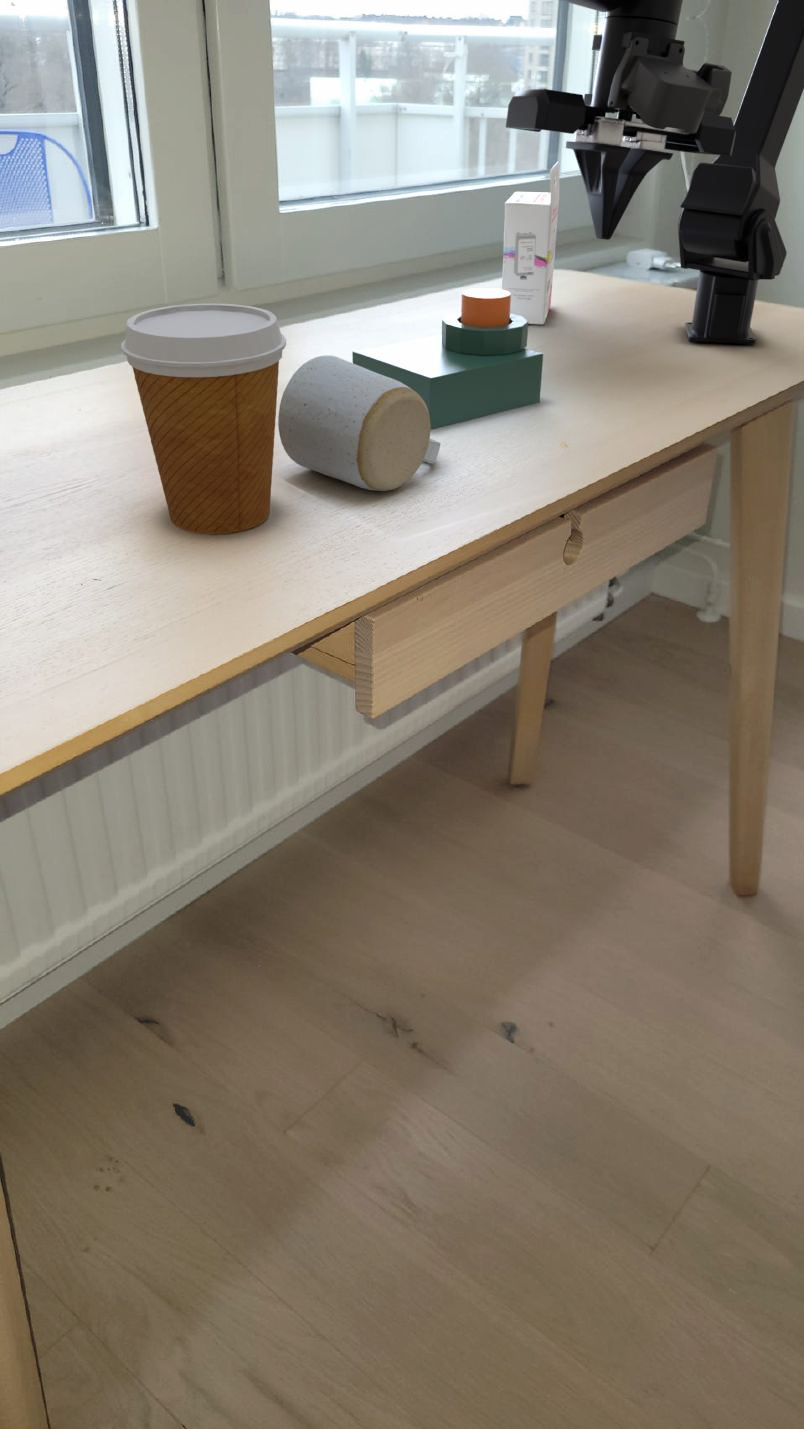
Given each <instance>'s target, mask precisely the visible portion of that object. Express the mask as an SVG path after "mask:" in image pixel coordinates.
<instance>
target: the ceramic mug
mask: <svg viewBox="0 0 804 1429" xmlns="http://www.w3.org/2000/svg"><path fill="white" fill-rule="evenodd" d="M277 426H278V427H277V428H278V433H279V438H280V442H281V445H282V448H283V449H284V452H285V454H286V455H287V456H288V457H289V459H291V461H293V462H294V463H295V464H297V465H299V466H300V467H302V468H306V469H308V470H312V471H314V472H317V473H319V474H322V475H325V476H328V477H331V478H334V479H336V480H340V481H342V482H345V483H348V484H350V485H353V486H356V487H358V488H360V489H364V490H368V491H374V492H375V491H377V492H388V491H392V490H395V489H397V488H400V487H401V486H403V485H404V484H406V483H407V482H408V481H409V480H410V479H411V478H413V476H414V475H416V473H417V471H418V470H419V469H420V466H421V465H422V463H423V462H425V463H428V464H435V463H436V460H437V458H438V456H439V452H440V448H441V443H440V441H438V440H435V439H433V438H431V425H430V417H429V411H428V408H427V406H426V403H425V402H424V400H423V399H422V398H421V397H420V395H419V394H418V393H416V392H415V391H414V390H412V389H411V388H409V387H408V386H406V385H404V384H403V383H401V382H399V381H397V380H394V379H392V378H389V377H386V376H383V375H380V374H378V373H375V372H373V371H370V370H368V369H365V368H363V367H361V366H358V365H356V364H353V362H350V361H349V360H346V359H343V358H341V357H338V356H335V355H318V356H316V357H313V358H311V359H309V360H308V361H306V362H305V363H303V364H302V365H301V366H299V367H298V368H297V370H296V371H295V372H294V373H293V374H292V376H291V378H290V379H289V381H288V382H287V384H286V387H285V388H284V391H283V393H282V396H281V399H280V402H279V409H278V420H277Z"/></svg>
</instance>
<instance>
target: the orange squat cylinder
mask: <svg viewBox="0 0 804 1429" xmlns="http://www.w3.org/2000/svg"><path fill="white" fill-rule="evenodd" d="M510 303H511V293H510V292H508V291H505V290H502V288H492V287H490V288H489V287H482V288H481V287H478V288H469V289H466V290H465V289H464V290H463V291H462V292H461V310H460V312H461V323H462V324H466V325H470V326H479V327H498V326H504V325H509V320H510Z"/></svg>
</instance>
